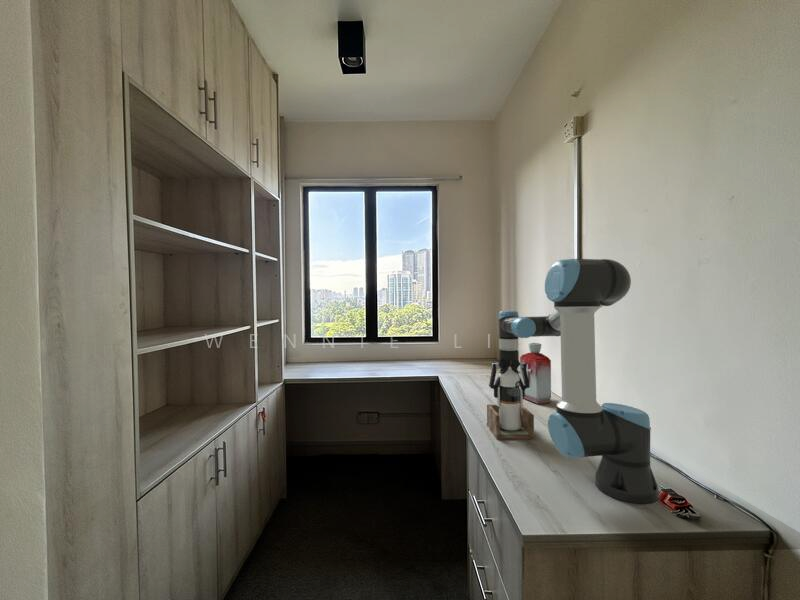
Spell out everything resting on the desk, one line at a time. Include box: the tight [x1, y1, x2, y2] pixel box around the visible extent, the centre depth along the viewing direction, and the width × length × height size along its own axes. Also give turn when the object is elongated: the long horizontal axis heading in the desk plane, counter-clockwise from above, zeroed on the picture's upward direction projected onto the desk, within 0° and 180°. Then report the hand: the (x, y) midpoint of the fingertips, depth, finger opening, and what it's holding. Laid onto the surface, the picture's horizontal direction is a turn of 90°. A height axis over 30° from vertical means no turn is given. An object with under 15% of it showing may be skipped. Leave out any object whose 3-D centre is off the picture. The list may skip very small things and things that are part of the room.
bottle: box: [519, 342, 552, 405], centre depth 193 cm, size 14×10×30 cm
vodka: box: [497, 360, 522, 431], centre depth 148 cm, size 9×9×30 cm
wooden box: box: [486, 404, 536, 441], centre depth 149 cm, size 16×14×9 cm
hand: (509, 405), depth 148 cm, fingers closed on vodka, 8 cm apart
